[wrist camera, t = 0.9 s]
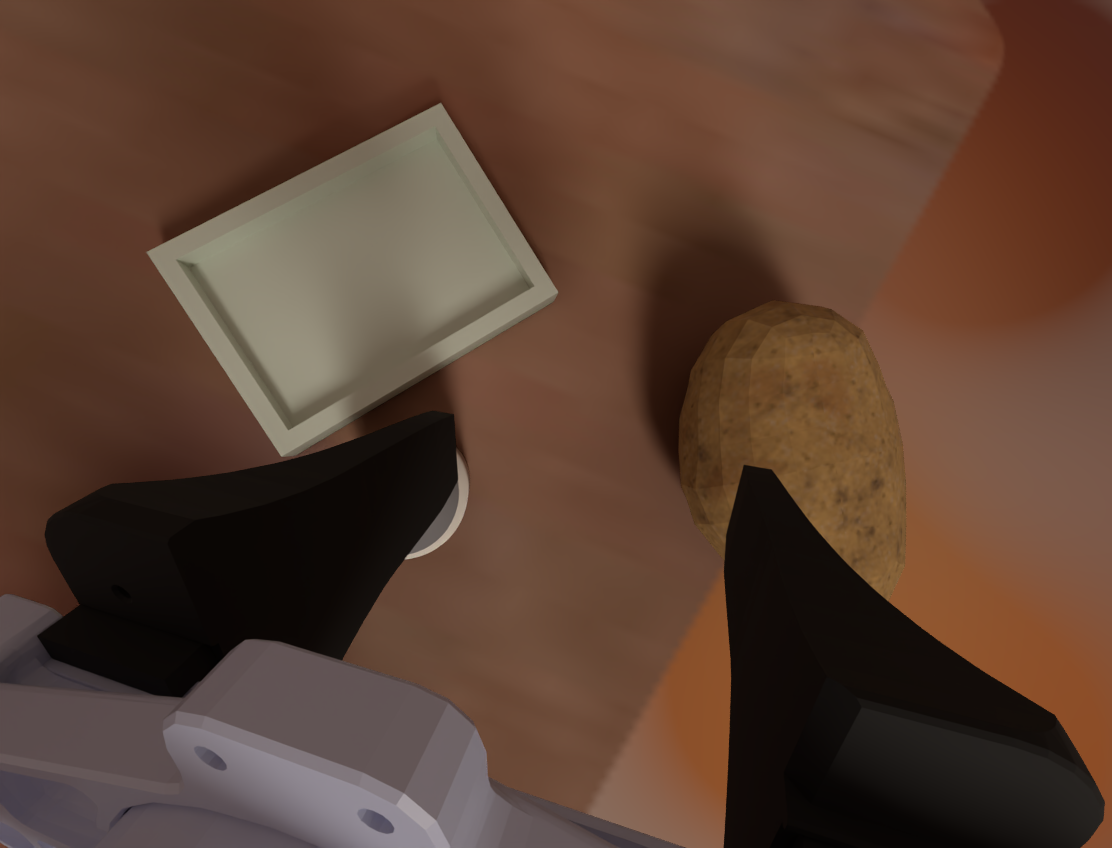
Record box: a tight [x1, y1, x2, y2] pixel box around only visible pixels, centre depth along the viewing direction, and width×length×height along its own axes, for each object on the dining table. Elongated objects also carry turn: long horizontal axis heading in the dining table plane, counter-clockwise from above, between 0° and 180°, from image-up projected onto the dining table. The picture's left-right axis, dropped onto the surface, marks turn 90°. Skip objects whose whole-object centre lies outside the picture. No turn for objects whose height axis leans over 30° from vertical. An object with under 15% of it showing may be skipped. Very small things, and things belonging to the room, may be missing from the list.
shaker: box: [405, 448, 470, 559], centre depth 21 cm, size 5×5×7 cm
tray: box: [147, 103, 558, 457], centre depth 23 cm, size 14×10×2 cm
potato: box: [679, 300, 906, 601], centre depth 23 cm, size 10×14×8 cm
